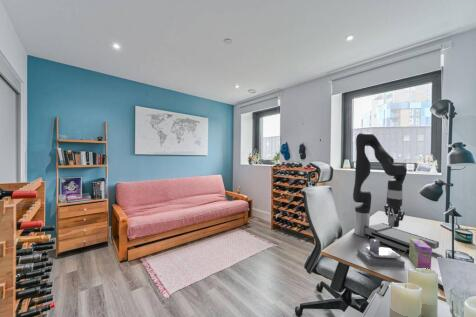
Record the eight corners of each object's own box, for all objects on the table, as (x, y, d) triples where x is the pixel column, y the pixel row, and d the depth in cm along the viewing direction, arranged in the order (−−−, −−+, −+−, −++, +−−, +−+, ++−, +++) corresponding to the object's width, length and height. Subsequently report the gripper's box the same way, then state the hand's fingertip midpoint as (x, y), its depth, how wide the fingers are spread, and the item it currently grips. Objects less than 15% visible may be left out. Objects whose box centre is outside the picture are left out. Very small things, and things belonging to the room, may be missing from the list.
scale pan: (365, 248, 117) (366, 246, 117) (388, 249, 116) (388, 247, 116) (375, 257, 108) (375, 254, 108) (400, 258, 107) (400, 255, 107)
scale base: (357, 254, 118) (357, 248, 118) (388, 255, 117) (388, 249, 117) (369, 265, 106) (369, 259, 106) (404, 267, 105) (404, 260, 105)
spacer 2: (386, 224, 123) (387, 214, 123) (394, 224, 123) (394, 215, 122) (392, 227, 118) (392, 217, 118) (399, 227, 118) (400, 217, 118)
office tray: (421, 260, 113) (421, 246, 113) (364, 238, 142) (365, 227, 141) (438, 253, 122) (438, 240, 121) (381, 233, 151) (382, 223, 150)
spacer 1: (368, 248, 114) (368, 238, 114) (375, 249, 114) (376, 238, 114) (372, 252, 110) (373, 242, 110) (380, 253, 110) (381, 242, 109)
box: (431, 270, 103) (432, 247, 103) (417, 267, 105) (418, 245, 105) (421, 260, 113) (422, 239, 112) (408, 258, 115) (409, 238, 114)
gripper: (380, 194, 127) (379, 220, 128) (396, 199, 113) (395, 229, 114) (392, 194, 127) (391, 221, 127) (410, 200, 113) (409, 229, 113)
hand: (393, 224), depth 120 cm, fingers closed on spacer 2, 4 cm apart
